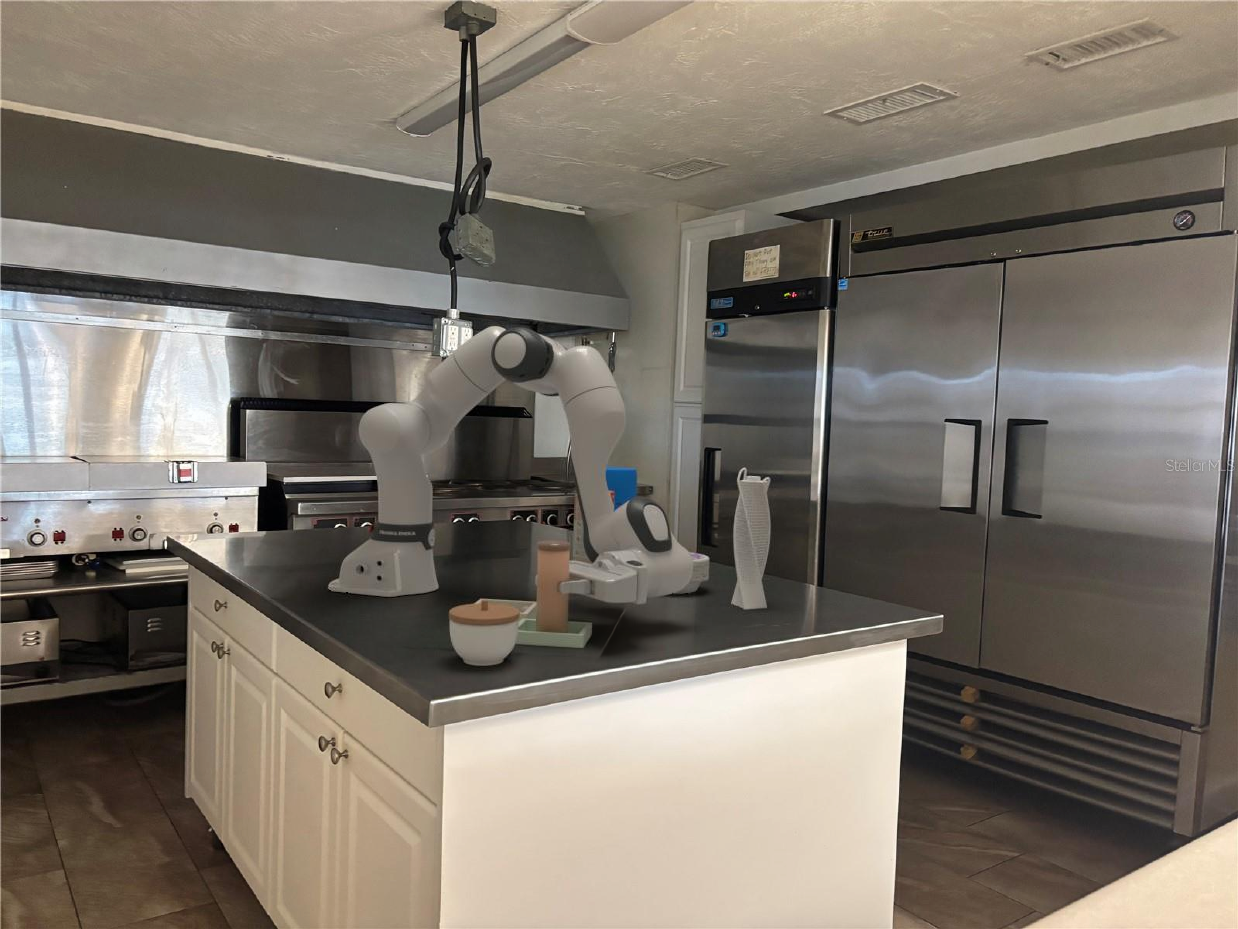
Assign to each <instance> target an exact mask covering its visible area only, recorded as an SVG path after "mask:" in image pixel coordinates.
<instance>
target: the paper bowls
mask: <svg viewBox="0 0 1238 929" xmlns="http://www.w3.org/2000/svg"><path fill="white" fill-rule="evenodd" d="M688 552H689V553H690V555H691V557H692V560H693V573H692V577H691V579H690V581H689V583H688V584H687V585H686V586H685V587H684V588H683V589H682V590H680V591H678V592H675V593H673V594H672V595H686V594H685V593H688V594H692V592H693V593H695V592H697V590H698V588H699V587H700V585H701V583H702V582H706V581H708V580H709V578H710V577H709V575H710V557H709V556H707V555H705V554H702V553H697V552H690V551H688Z"/></svg>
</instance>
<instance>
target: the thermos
mask: <svg viewBox="0 0 1238 929" xmlns="http://www.w3.org/2000/svg"><path fill="white" fill-rule="evenodd" d="M606 483H607V487H608V491H614V492H615V498H614V511H615V510H616V509H618V508H619V507H620V506H622V505H623V504H625V503H626V502H628V501H629V500H631V499H632V498H634V497H638V495H637V494H638V471H637V468H632V467H619V466H617V467H615V466H614V467H613V466H607V467H606Z"/></svg>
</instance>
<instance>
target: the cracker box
mask: <svg viewBox="0 0 1238 929" xmlns="http://www.w3.org/2000/svg"><path fill="white" fill-rule="evenodd" d="M608 492H609V496H610V500H611V505H612V509H613V512H614V498H615V492H614V491H608ZM573 507H574V509H573V513H574V515H573V534H572V535H573V538H572V559H571V561H581V562H585V563H589V564H593V563H592V562H591V561H590V560H589V558H588V557H587V555H586V552H585V549H584V543H583V533H584V528H583V520H582V515H581V510H580V506H579V501H578V497H577V493H576V494H574V506H573Z"/></svg>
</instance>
